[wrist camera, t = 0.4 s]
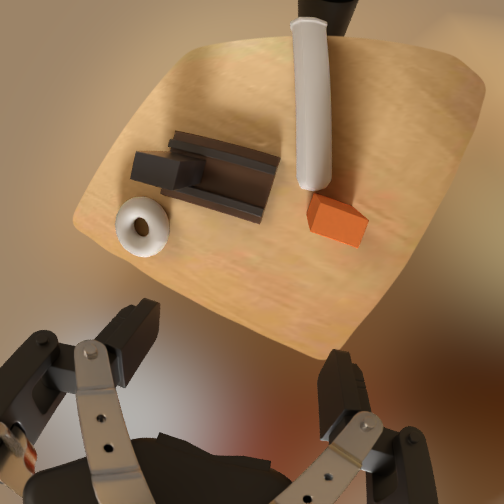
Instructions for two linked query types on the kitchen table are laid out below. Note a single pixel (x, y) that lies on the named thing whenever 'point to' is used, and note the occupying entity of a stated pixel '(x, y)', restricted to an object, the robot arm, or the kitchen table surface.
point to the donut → (155, 221)
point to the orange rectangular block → (336, 220)
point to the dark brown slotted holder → (210, 174)
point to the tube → (312, 103)
